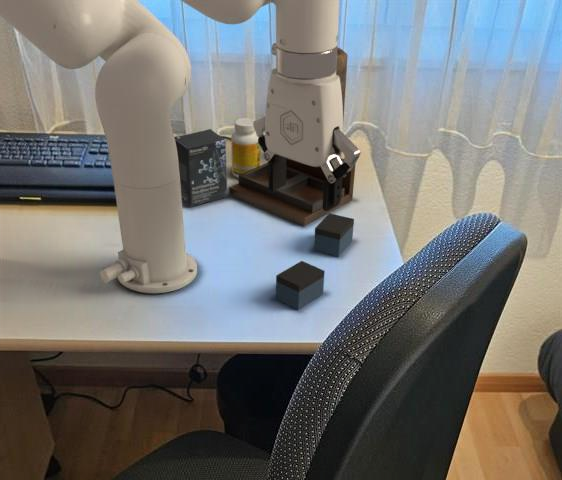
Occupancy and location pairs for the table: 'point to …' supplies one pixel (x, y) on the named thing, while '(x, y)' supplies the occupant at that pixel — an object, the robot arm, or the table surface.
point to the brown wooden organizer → (291, 191)
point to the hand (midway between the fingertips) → (303, 197)
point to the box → (202, 167)
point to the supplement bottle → (244, 147)
